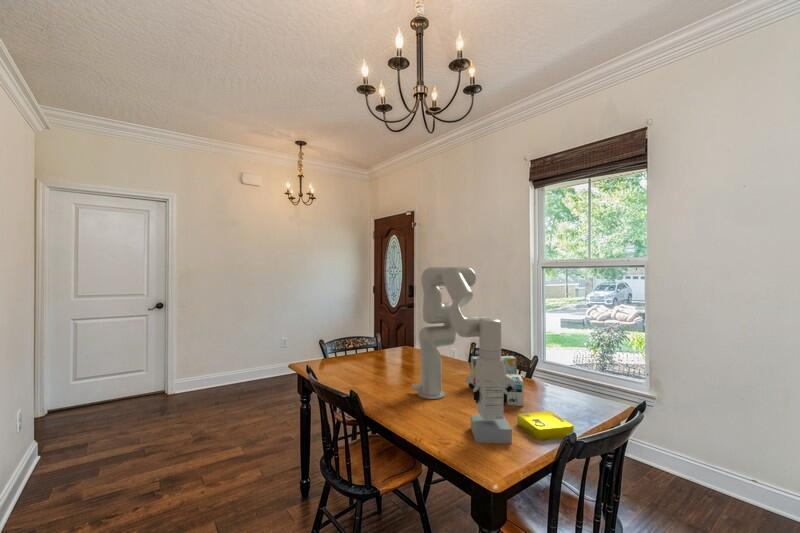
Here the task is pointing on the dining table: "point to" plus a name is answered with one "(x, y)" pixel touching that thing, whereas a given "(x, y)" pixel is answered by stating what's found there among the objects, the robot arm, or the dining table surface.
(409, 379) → the dining table surface
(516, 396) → the light bulb box
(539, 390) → the dining table surface
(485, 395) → the supplement box
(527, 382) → the dining table surface
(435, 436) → the dining table surface
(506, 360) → the snack box
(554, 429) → the element tile
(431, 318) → the robot arm
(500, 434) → the grey block
